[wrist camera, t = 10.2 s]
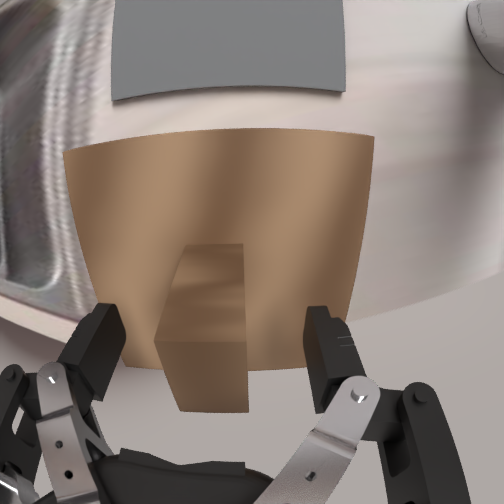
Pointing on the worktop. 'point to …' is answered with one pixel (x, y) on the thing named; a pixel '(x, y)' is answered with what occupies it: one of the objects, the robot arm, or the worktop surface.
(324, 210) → the lid
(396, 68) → the worktop surface
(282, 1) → the mat
